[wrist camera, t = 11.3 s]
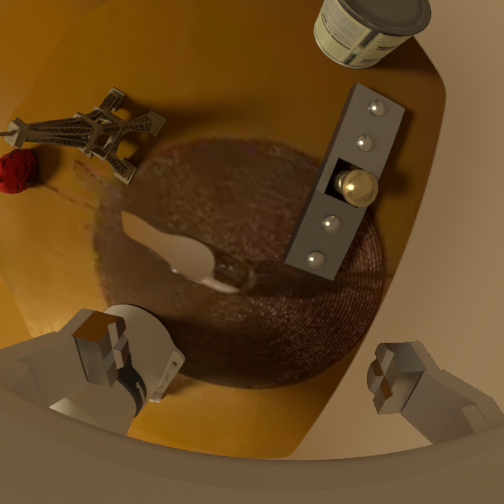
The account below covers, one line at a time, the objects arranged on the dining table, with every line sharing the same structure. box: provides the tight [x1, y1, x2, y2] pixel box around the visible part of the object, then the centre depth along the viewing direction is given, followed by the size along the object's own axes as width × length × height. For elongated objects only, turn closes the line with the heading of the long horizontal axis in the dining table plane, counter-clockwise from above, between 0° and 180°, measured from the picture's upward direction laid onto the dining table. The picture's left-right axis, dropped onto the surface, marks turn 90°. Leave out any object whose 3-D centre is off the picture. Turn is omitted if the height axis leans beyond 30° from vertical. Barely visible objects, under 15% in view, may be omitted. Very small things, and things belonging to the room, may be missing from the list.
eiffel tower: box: [0, 87, 167, 185], centre depth 24 cm, size 11×11×25 cm
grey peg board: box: [283, 83, 405, 281], centre depth 35 cm, size 25×7×4 cm, turn 160°
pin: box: [331, 169, 378, 207], centre depth 33 cm, size 4×4×8 cm
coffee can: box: [314, 0, 431, 68], centre depth 23 cm, size 10×10×14 cm
